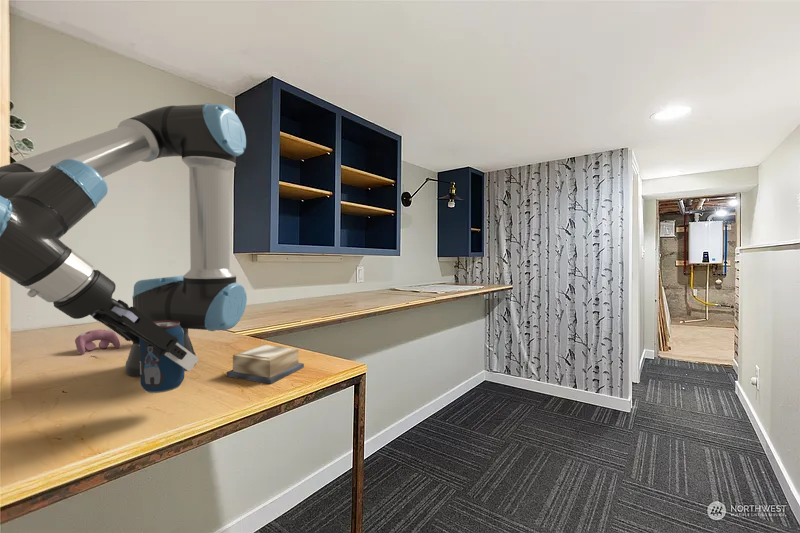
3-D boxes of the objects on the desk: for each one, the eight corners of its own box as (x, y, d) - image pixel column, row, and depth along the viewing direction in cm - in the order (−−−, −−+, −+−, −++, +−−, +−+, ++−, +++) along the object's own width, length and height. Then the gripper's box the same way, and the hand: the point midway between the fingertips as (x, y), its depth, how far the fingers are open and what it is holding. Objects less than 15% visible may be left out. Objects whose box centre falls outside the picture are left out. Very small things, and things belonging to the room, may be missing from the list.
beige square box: (226, 376, 90) (226, 354, 90) (263, 361, 103) (263, 342, 102) (270, 384, 86) (270, 361, 86) (303, 367, 98) (304, 347, 98)
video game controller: (117, 351, 114) (112, 329, 116) (122, 346, 112) (117, 324, 113) (75, 358, 106) (71, 335, 108) (80, 354, 104) (75, 330, 105)
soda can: (182, 377, 75) (181, 318, 74) (186, 389, 69) (185, 325, 68) (140, 384, 71) (139, 322, 70) (140, 397, 65) (138, 329, 64)
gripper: (27, 298, 61) (140, 368, 76) (81, 312, 51) (199, 389, 66) (67, 264, 65) (167, 337, 80) (124, 271, 55) (226, 352, 70)
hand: (181, 360), depth 73 cm, fingers closed on soda can, 7 cm apart
